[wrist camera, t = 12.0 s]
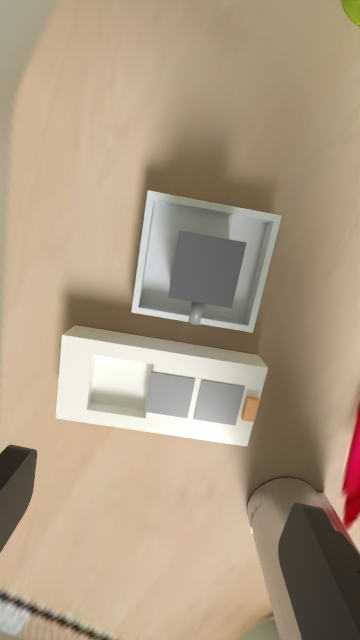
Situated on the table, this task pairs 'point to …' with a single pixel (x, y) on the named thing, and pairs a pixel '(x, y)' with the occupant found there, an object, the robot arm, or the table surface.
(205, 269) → the block
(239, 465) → the table surface
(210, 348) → the power strip
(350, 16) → the soap dispenser
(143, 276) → the tray
